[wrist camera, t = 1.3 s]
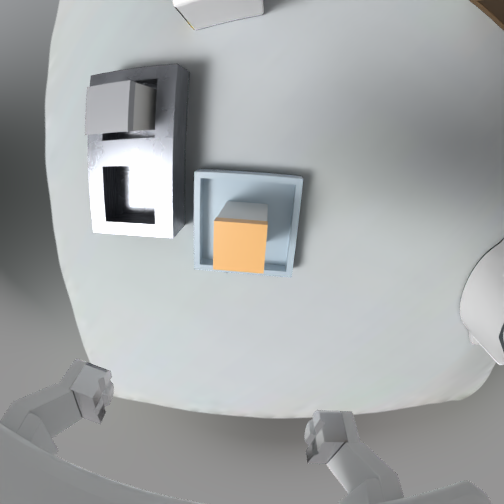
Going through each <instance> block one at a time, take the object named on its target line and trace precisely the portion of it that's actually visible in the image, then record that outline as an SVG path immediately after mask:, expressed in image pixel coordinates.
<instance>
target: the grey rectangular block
mask: <svg viewBox="0 0 504 504" xmlns="http://www.w3.org/2000/svg"><path fill="white" fill-rule="evenodd" d="M156 95H157V89H154V88H151V87H148V86H145V85H142V84H138V83H136V82H134V81H131V80H128V81H121V82H114V83H108V84H102V85H96V86H91V87H87V95H86V115H85V135H92V134H102V133H114V132H127V131H142V130H155V113H156Z"/></svg>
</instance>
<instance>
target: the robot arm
mask: <svg viewBox="0 0 504 504" xmlns="http://www.w3.org/2000/svg"><path fill="white" fill-rule="evenodd" d="M460 317H461V320H462V322H463V324H464V325H465V327H466V328H467V329H468V331H469V340H470V342H471V343H472V344H473V345H477V344H480V345H481V346H482V347H483V348H484V349H485V350H486V351H487V353H488V354H489V355H490V356H491V357H492V358H493V359H494V360H495V361H496V362H497V363H498V364H499V365H504V239H503V241H502V242H501V243H500V244H498V245H497V246H495V247H494V248H493V249H491V250H490V251H489V252H488V253H487V254H486V255H485V256H484V257H483V258H482V259H481V260H480V261H479V262H478V264H477V265H476V267H475V268H474V270H473V271H472V273H471V275H470V276H469V278H468V280H467V283H466V285H465V287H464V290H463V293H462V297H461V302H460ZM111 377H112V375H111V371H109V370H106V369H104V368H101V367H98V366H96V365H93V364H91V363H88V362H85V361H83V360H80V359H76V360H75V361H74V362H73V363H72V365H71V366H70V368H69V369H68V371H67V372H66V374H65V375H64V377H63V378H62V380H61V381H60V383H59V384H53V385H51V386H49V387H46V388H44V389H42V390H39V391H37V392H35V393H32V394H30V395H27V396H25V397H23V398H20V399H18V400H16V401H13V403H12V404H11V405H10V407H9V408H8V410H7V411H6V413H5V414H4V416H3V417H2V419H1V420H0V504H206V503H200V502H194V501H189V500H184V499H179V498H175V497H170V496H165V495H162V494H158V493H154V492H150V491H147V490H143V489H140V488H137V487H133V486H130V485H127V484H124V483H121V482H118V481H115V480H112V479H109V478H106V477H104V476H101V475H99V474H96V473H93V472H91V471H89V470H86V469H84V468H82V467H79V466H77V465H75V464H73V463H70V462H68V461H66V460H64V459H62V458H60V457H58V456H56V454H57V452H58V448H57V446H56V445H55V443H54V441H53V440H52V438H53V437H54V436H56V435H58V434H59V433H61V432H62V431H64V430H65V429H67V428H68V427H70V426H71V425H73V424H74V423H76V422H78V421H79V420H81V419H82V418H85V419H88V420H90V421H93V422H95V423H98V424H101V421H102V419H103V417H104V415H105V413H106V411H105V406H107V405H109V404H110V402H111V400H112V397H113V393H114V386H113V383H112V382H111V381H110V379H111ZM305 442H306V443H307V444H308V445H309V447H308V448H307V450H306V455H307V463H315V464H327V466H328V468H329V469H330V470H331V472H332V473H333V474H334V475H335V477H336V478H337V479H338V481H339V482H340V483H341V485H342V486H343V487H344V489H345V490H346V491H347V492H348V495H347V496H345V497H344V498H343V499H342V500H340V501H339V502H338V504H491V501H490V499H489V497H488V495H487V494H486V493H485V492H484V491H483V490H481V489H480V488H479V487H477V486H476V485H475V484H473V483H472V482H470V481H467V480H465V481H460V482H458V483H455V484H452V485H449V486H446V487H443V488H440V489H436V490H433V491H429V492H426V493H422V494H418V495H415V496H410V497H406V498H404V496H403V492H402V488H401V485H400V481H399V477H398V474H397V473H396V472H395V471H393V469H391V468H390V467H389V466H388V465H387V464H386V463H385V462H384V461H383V460H381V458H380V457H379V456H377V455H376V454H375V453H374V452H373V451H372V450H371V449H370V448H369V447H368V446H367V445H366V444H365V443H364V442H360V438H359V435H358V431H357V427H356V423H355V419H354V416H353V413H352V412H351V411H326V410H316V411H315V412H314V414H313V419H312V420H310V421H309V422H308V424H307V426H306V429H305Z"/></svg>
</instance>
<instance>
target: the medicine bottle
mask: <svg viewBox="0 0 504 504" xmlns="http://www.w3.org/2000/svg"><path fill="white" fill-rule="evenodd" d="M172 1H173V5H174V7H175V8H176V9H177V10H178V12H179V13H180V14H181V15H182V16H183V17H184V19H185V20H186V21H187V22H188V23H189V25H190V26H191V27H192V28H193V29H194V30H199V29H203V28H206V27H210V26H214V25H217V24H221V23H225V22H230V21H234V20H239V19H243V18H248V17H253V16H259V15H262V14H263V13H264V7H263V0H172Z"/></svg>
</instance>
